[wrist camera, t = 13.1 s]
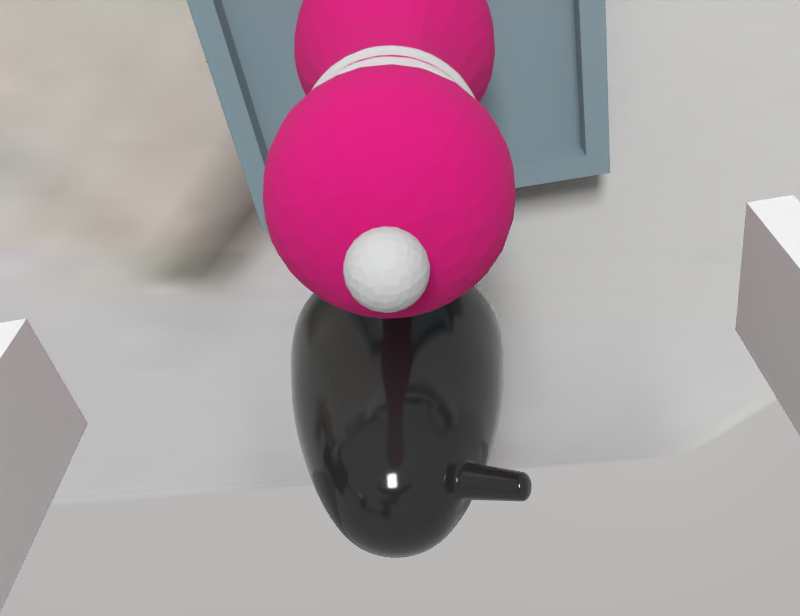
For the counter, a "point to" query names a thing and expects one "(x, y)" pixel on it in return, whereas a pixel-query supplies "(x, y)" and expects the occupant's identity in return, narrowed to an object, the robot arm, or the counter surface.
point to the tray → (504, 100)
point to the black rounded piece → (400, 419)
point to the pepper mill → (390, 156)
